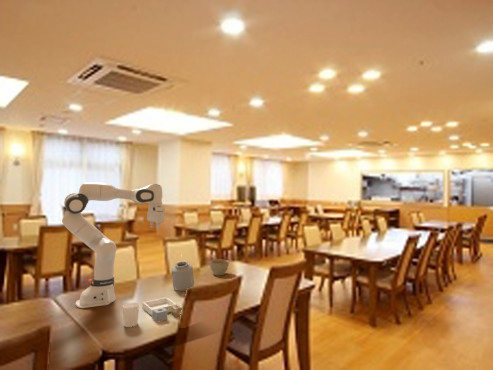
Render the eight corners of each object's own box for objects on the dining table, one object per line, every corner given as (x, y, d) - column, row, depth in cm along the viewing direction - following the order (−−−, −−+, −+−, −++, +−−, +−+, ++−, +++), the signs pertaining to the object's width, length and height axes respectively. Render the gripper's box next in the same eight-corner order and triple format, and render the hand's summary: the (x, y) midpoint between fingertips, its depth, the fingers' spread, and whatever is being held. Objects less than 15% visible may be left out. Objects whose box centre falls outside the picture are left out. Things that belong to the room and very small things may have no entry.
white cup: (133, 320, 171) (133, 301, 171) (141, 324, 166) (141, 305, 166) (119, 325, 165) (119, 305, 165) (127, 329, 160) (128, 309, 160)
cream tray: (152, 316, 177) (152, 310, 177) (142, 308, 189) (142, 302, 189) (177, 310, 186) (177, 304, 186) (166, 303, 198) (166, 297, 198)
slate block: (156, 322, 169) (156, 312, 169) (152, 318, 174) (152, 309, 174) (167, 319, 173) (167, 310, 173) (162, 316, 177) (162, 307, 178)
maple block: (174, 317, 176) (175, 308, 176) (171, 314, 180) (171, 306, 180) (182, 315, 179) (182, 307, 179) (178, 312, 183) (178, 304, 183)
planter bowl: (232, 273, 270) (232, 260, 271) (221, 277, 257) (221, 264, 257) (217, 270, 279) (217, 258, 279) (205, 274, 265) (205, 261, 265)
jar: (183, 294, 214) (184, 257, 214) (165, 292, 219) (165, 255, 220) (197, 287, 231) (198, 252, 232) (180, 284, 237) (181, 250, 237)
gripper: (145, 207, 222) (144, 227, 221) (156, 208, 206) (156, 230, 205) (153, 207, 226) (153, 226, 225) (166, 208, 210) (165, 229, 209)
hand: (155, 228), depth 215 cm, fingers open, 8 cm apart
